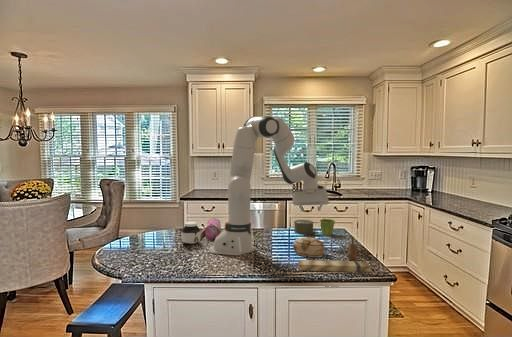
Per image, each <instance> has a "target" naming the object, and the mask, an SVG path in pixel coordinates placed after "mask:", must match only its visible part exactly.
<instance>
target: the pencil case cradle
mask: <svg viewBox="0 0 512 337" xmlns="http://www.w3.org/2000/svg"><path fill="white" fill-rule="evenodd" d="M205 228H206V226H205V227H204V228H203V229H202V230H200V240H201V239H202V238H203V237H204V236H205ZM224 230H225V226H224V227H223V229H222V230H220V233H219V234H221V233H222V232H223V231H224Z"/></svg>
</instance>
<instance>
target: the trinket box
mask: <svg viewBox="0 0 512 337" xmlns="http://www.w3.org/2000/svg"><path fill="white" fill-rule="evenodd" d="M292 248H293V251H294V253H295V254H296V255H299V256H302V255H303V256H302V257H307V256H308V257H310V258H320V257H323V256H324V254H325V251H326V247H325V244H324V242H323V241H322V240H320V239H317V238H313V237H308V236H307V237H306V236H305V237H303V236H302V237H299V238H296V239H295V240H294V241H293V243H292ZM308 257H307V258H308Z"/></svg>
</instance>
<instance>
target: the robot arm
mask: <svg viewBox="0 0 512 337" xmlns="http://www.w3.org/2000/svg"><path fill="white" fill-rule="evenodd" d="M270 137H271V140H272V141H273V143H274V147H273V153H274V156H275V159H276V161H277V164H278V167H279V169H280V172H281V174H282V179H283V181H284V182H285V183H287V184H289V185H292V184H295V183H298V182H301V181H303V184H302V190H295V191H293V192H292V204H293V205H294V206H298V207H299V210H300V212H304V207H302V206H316V205H317V211H318V212H321V209H322V207H323V206H326V205H328V204H329V203H330V201H329V200H330V199H329V194H328V192H327V190H326V189H327V188H326V186H325V185H320V184H318V181H319V177H318V176H319V175H318V170H317V168H316V167H315V166H314V165H313V164H311V163H310V162H307V161H305V162H302V163H298V164H296V165H292V166H290V165H289V164H288V162H287V160H286V157H285V155H286V154H287V153H288V152H289V151H290V150H291V149H292V147H294V144H295V136H294V134H293V133H292V130H291V129H290V127H289V126H288V124H287V123H286V122H285V120H283V119H282V118H281V117H279V116H276V117H275V116H274V117H273V116H269V115H266V116H265V115H264V116H263V115H258V116H257V115H256V116H251V117H249V118H247V119H246V120H245V121H244V124H243V126H240V127H239V128H238V129H237V130H236V133H235V136H234V141H233V146H232V155H231V163H230V171H229V179H228V183H227V185H228V186H227V188H228V189H227V190H228V191H227V194H228V195H227V196H228V197H227V198H228V199H227V200H228V203H227V204H228V221H226V222H225V223H224V227H225V230H224V231H223V232H222V233H221V232H220V233H221V234H220V233H219V235H218V236H217V237H216V238H214V241H213V245H211V246H210V247H209V250H208V252H209V253H210V254H216V255H217V254H219V255H229V256H230V255H231V256H240V255H245V254H249V253H251V252H253V251H254V246H253V243H252V236H251V234H252V222H251V179H252V171H253V166H254V158H255V152H256V151H255V150H256V142H257V139H258V138H270Z"/></svg>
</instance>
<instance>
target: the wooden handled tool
mask: <svg viewBox="0 0 512 337" xmlns="http://www.w3.org/2000/svg"><path fill="white" fill-rule="evenodd" d="M354 238H355V237H354V236H351V242H350V244H349V245H348V261H357V260H356V259H357V245H356V244H355V243H354V242H355V241H354V240H355V239H354Z"/></svg>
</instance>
